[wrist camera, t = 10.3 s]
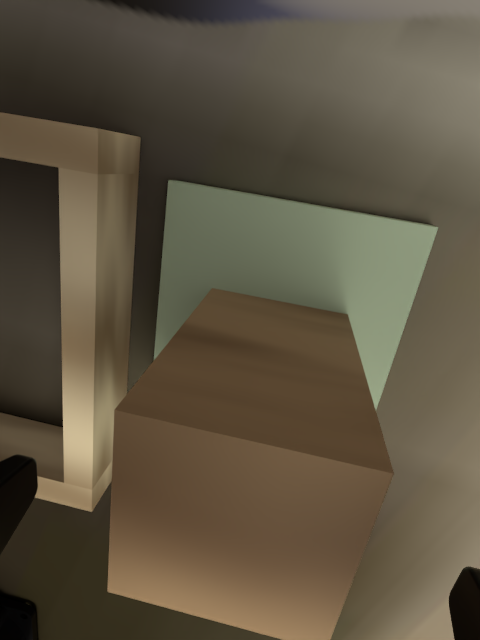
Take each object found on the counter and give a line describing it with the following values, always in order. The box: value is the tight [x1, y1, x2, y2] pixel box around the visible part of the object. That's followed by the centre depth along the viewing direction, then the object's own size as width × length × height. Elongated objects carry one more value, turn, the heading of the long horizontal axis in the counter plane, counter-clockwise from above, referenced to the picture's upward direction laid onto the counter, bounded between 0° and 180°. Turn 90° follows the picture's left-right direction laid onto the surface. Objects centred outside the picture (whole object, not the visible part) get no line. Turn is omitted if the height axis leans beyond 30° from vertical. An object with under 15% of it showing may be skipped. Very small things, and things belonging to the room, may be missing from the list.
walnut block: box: [108, 288, 394, 640], centre depth 12 cm, size 5×5×8 cm
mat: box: [154, 180, 438, 410], centre depth 16 cm, size 12×9×1 cm
